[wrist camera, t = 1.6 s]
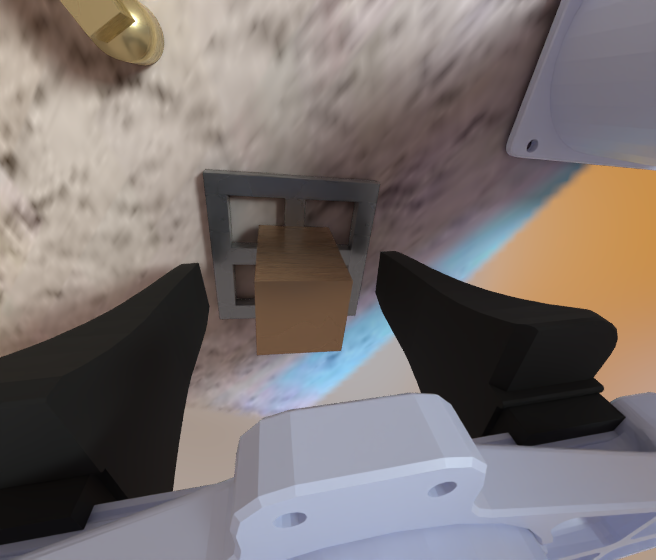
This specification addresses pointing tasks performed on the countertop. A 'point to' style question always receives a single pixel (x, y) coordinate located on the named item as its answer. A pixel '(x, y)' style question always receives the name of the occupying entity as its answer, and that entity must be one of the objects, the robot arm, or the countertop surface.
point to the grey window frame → (291, 259)
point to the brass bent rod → (120, 28)
